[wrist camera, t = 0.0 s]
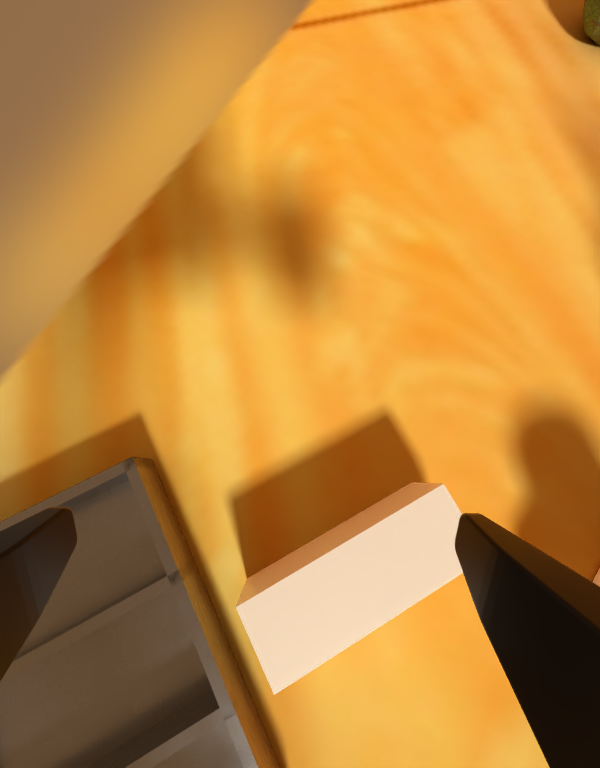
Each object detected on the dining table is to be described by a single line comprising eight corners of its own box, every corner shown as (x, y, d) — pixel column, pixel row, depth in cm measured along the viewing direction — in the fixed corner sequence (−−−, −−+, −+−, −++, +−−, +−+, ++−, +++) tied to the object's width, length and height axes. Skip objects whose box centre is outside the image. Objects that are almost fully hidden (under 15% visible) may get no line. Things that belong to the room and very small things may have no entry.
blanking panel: (444, 539, 22) (487, 556, 18) (277, 643, 21) (274, 695, 16) (411, 481, 23) (443, 483, 18) (247, 577, 22) (235, 607, 17)
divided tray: (297, 807, 19) (299, 869, 16) (1, 1014, 16) (-60, 1131, 13) (151, 459, 23) (132, 456, 20) (-101, 585, 20) (-164, 602, 18)
